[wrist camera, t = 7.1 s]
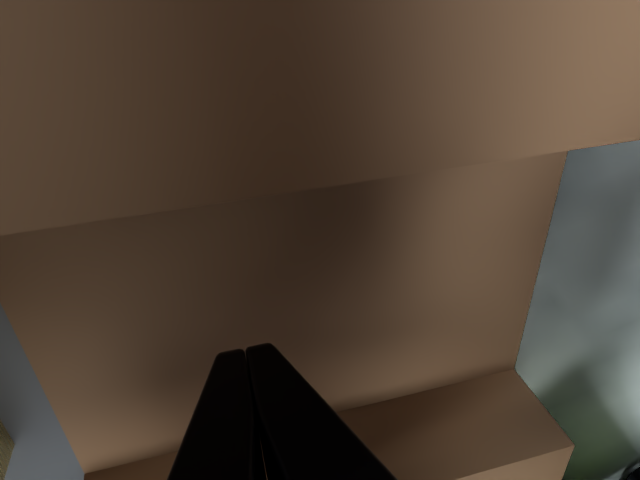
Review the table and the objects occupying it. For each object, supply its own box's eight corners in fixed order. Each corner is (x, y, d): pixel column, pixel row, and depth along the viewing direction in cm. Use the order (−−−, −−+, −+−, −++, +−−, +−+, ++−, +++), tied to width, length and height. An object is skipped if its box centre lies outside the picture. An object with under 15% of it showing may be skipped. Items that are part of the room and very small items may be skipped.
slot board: (618, -120, 7) (802, -143, 5) (489, 434, 13) (545, 521, 11) (-181, -99, 5) (-410, -121, 3) (121, 533, 11) (111, 658, 9)
